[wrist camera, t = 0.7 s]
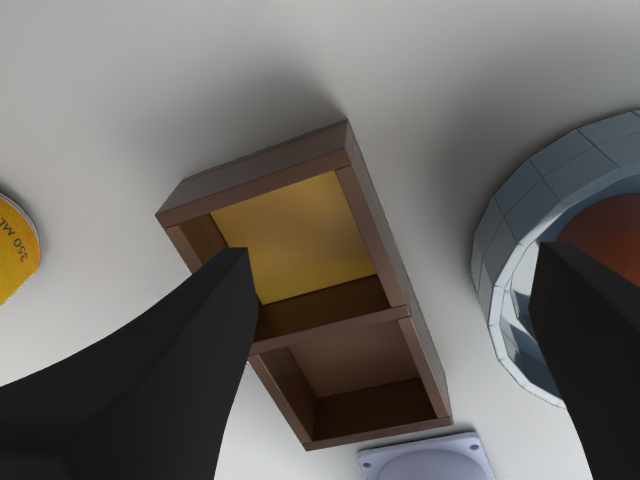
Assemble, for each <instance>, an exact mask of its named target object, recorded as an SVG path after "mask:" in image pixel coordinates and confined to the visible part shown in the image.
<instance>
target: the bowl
mask: <svg viewBox="0 0 640 480" xmlns="http://www.w3.org/2000/svg"><path fill="white" fill-rule="evenodd" d="M630 193H640V110H633V111H631V112H626V113H623V114H620V115H617V116H614V117H611V118H608V119H604V120H601V121H598V122H595V123H592V124H589V125H586V126H583V127H580V128H577V129H576V130H572V131H571V132H569V133H568V134H566V135H564V136H563V137H561V138H560V139H558V140H557V141H555V142H553V143H552V144H550V145H549V146H547V147H545V148H544V149H542V150H541V151H539V152H537V153H536V154H534V155H533V156H531V157H529V159H526V161H525V162H524V163H523V164H522V165H521V166H520V167H519V168H518V169H517V170H516V171H515V172H514V173H513V174H512V175H511V177H510V178H509V179H508V180H507V181H506V182H505V183H504V184H503V185H502V186H501V187H500V188H499V189H498V190H497V192H496V193H495V194H494V196H492V198H491V200H490V203H489V205H488V207H487V209H486V211H485V213H484V215H483V217H482V219H481V221H480V223H479V225H478V227H477V229H476V231H475V233H474V234H475V235H474V240H473V250H472V259H471V268H470V270H471V276H472V279H473V282H474V286H475V289H476V292H477V296H478V299H479V302H480V305H481V309H482V312H483V315H484V318H485V321H486V325H487V328H488V331H489V334H490V338H491V341H492V344H493V347H494V350H495V354H496V357H497V359H498V361H499V362H500V363H501V364H502V365H503V367H504V368H505V369H506V370H507V371H508V372H509V374H510V375H511V376H512V377H513V378H514V379H515V380H516V382H517V383H518V384H519V385H520V386H521V387H522V388H523V389H525V390H527V391H529V392H531V393H532V394H534V395H536V396H538V397H540V398H541V399H543V400H545V401H547V402H548V403H550V404H552V405H554V406H557V407H560V408H564V409H567V408H566V406H565V404H564V402H563V399H562V397H561V395H560V393H559V391H558V388H557V386H556V384H555V382H554V380H553V377H552V375H551V373H550V371H549V369H548V366H547V364H546V362H545V360H544V357H543V355H542V353H541V351H540V348H539V346H538V343H537V340H536V337H535V333H534V330H533V326H532V323H531V319H530V315H529V312H528V305H529V300H530V294H531V289H532V283H533V278H534V273H535V267H536V262H537V257H538V251H539V246H540V242H555V241H556V239H557V237H558V235H559V234H560V232H561V231H562V229H563V228H564V227H565V226H566V225H567V223H568V222H569V221H570V220H571V219H572V218H574V217H575V216H576V215H577V214H578V213H580V212H581V211H583V210H584V209H586V208H587V207H589V206H591V205H593V204H595V203H597V202H599V201H601V200H604V199H607V198H610V197H613V196H618V195H622V194H630Z"/></svg>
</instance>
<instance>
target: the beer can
mask: <svg viewBox="0 0 640 480" xmlns="http://www.w3.org/2000/svg"><path fill="white" fill-rule="evenodd" d="M39 263H40V248H39V237H38V233H37V230H36V228H35V226H34V224H33V222H32V220H31V219H30V218H29V216H28V215H27V214H26V212H25V211H24V210H23V209H22V208H21V207H20V206H19V205H18V204H16V203H15V202H14V201H13V200H11V199H10V198H8V197H7V196H5V195H3V194H1V193H0V307H1V306H2V305H3V304H4V303H5V302H6V301H7V300H8V299H9V298H10V297H11V296H13V295H14V294H15V293H16V292H17V291H18V290H19V289H20V288H21V287H22V286H23V285H24V284H25V283H26V282H27V281H28V280H29V279H30V278H31V277H32V276H33V275H34V274H35V272H36V271H37V269H38V266H39Z"/></svg>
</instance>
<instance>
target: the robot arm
mask: <svg viewBox="0 0 640 480" xmlns="http://www.w3.org/2000/svg"><path fill="white" fill-rule="evenodd" d="M258 311H259V309H258V303H257V297H256V292H255V286H254V280H253V275H252V269H251V264H250V258H249V252H248V247H230V248H223V249H222V250H221V251H219V252H218V253H217V254H216V255H215V256H213V257H212V258H211V259H210V260H209V261H208V262H206V263H205V264H204V265H203V266H202V267H201V268H199V269H198V270H197V271H196V272H195V273H194V274H192V275H191V276H190V277H189V278H188V279H186V280H185V281H184V282H183V283H182V284H181V285H179V286H178V287H177V288H176V289H174V290H173V291H172V292H171V293H169V294H168V295H167V296H165V297H164V298H163V299H161V300H160V301H159V302H157V303H156V304H155V305H153V306H152V307H151V308H150V309H148V310H147V311H145V312H144V313H143V314H141V315H140V316H138V317H137V318H135V319H134V320H132V321H131V322H129V323H128V324H126V325H125V326H123V327H121V328H120V329H118V330H117V331H115V332H113V333H112V334H110V335H108V336H107V337H105V338H103V339H101V340H100V341H98V342H96V343H94V344H92V345H90V346H88V347H86V348H85V349H83V350H81V351H79V352H77V353H75V354H73V355H72V356H70V357H68V358H66V359H64V360H62V361H59V362H57V363H55V364H53V365H51V366H49V367H47V368H44V369H42V370H40V371H38V372H35V373H33V374H31V375H28V376H26V377H24V378H21V379H19V380H16V381H14V382H12V383H9V384H7V385H4V386H1V387H0V480H214V475H215V470H216V466H217V461H218V457H219V452H220V447H221V443H222V438H223V434H224V430H225V427H226V423H227V420H228V416H229V413H230V410H231V407H232V404H233V401H234V398H235V395H236V392H237V389H238V386H239V383H240V380H241V377H242V374H243V371H244V368H245V365H246V362H247V359H248V356H249V353H250V350H251V347H252V344H253V339H254V334H255V329H256V323H257V317H258ZM528 312H529V315H530V319H531V323H532V326H533V330H534V333H535V337H536V340H537V343H538V346H539V348H540V351H541V353H542V355H543V357H544V360H545V362H546V364H547V366H548V369H549V371H550V373H551V375H552V377H553V380H554V382H555V384H556V386H557V388H558V391H559V393H560V395H561V397H562V399H563V402H564V404H565V406H566V408H567V410H568V413H569V415H570V417H571V419H572V421H573V424H574V426H575V428H576V431H577V433H578V436H579V438H580V441H581V443H582V446H583V449H584V453H585V456H586V459H587V462H588V465H589V468H590V471H591V474H592V477H593V480H640V287H639V286H637V285H635V284H634V283H632V282H631V281H629V280H628V279H626V278H624V277H623V276H621V275H620V274H618V273H617V272H615V271H614V270H612V269H610V268H609V267H607V266H606V265H604V264H603V263H601V262H600V261H598V260H597V259H595V258H594V257H592V256H591V255H589V254H587V253H586V252H584V251H583V250H581V249H580V248H578V247H576V246H575V245H573V244H571V243H569V242H567V241H558V242H540V246H539V251H538V257H537V262H536V267H535V273H534V278H533V283H532V289H531V294H530V300H529V305H528ZM357 462H358V464H359V465H360V467H361V469H362V471H363V472H364V474H365V476H366V478H367V479H368V480H495V478H494V475H493V472H492V469H491V466H490V464H489V461H488V458H487V455H486V453H485V450H484V447H483V444H482V442H481V439H480V436H479V435H478V434H477V433H475V432H467V433H461V434H456V435H450V436H444V437H439V438H433V439H427V440H422V441H416V442H410V443H405V444H399V445H393V446H387V447H382V448H376V449H370V450H365V451H360V452H359V453H357Z"/></svg>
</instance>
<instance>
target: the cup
mask: <svg viewBox="0 0 640 480" xmlns="http://www.w3.org/2000/svg"><path fill="white" fill-rule="evenodd" d="M558 241H567V242H569V243H571V244H573V245H575V246H576V247H578V248H580V249H581V250H583V251H584V252H586V253H587V254H589V255H591V256H592V257H594V258H595V259H597V260H598V261H600V262H601V263H603V264H604V265H606V266H607V267H609V268H610V269H612V270H614V271H615V272H617V273H618V274H620V275H621V276H623V277H624V278H626V279H628V280H629V281H631V282H632V283H634V284H635V285H637V286H639V287H640V193H630V194H622V195H618V196H613V197H610V198H607V199H604V200H601V201H599V202H597V203H595V204H593V205H591V206H589V207H587V208H586V209H584V210H583V211H581V212H580V213H578V214H577V215H576V216H575V217H574V218H572V219H571V220H570V221H569V222H568V223H567V225H566V226H565V227H564V228H563V229H562V231H561V232H560V234H559V235H558V237H557V239H556V241H555V242H558Z"/></svg>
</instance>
